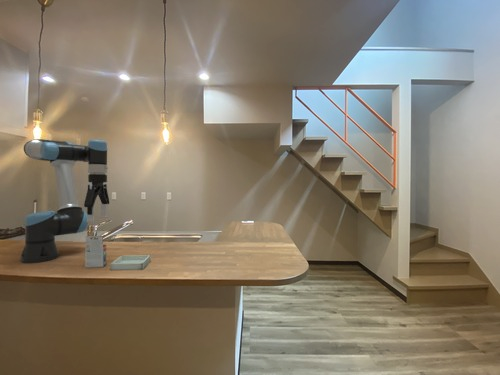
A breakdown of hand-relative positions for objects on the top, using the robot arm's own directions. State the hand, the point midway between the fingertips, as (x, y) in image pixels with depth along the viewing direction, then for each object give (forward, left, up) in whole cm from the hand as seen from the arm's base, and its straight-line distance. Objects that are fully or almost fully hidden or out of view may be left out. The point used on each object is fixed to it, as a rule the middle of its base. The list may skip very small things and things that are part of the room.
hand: (97, 219), depth 123 cm
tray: (+15, 0, -22) cm, 26 cm away
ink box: (0, -1, -22) cm, 22 cm away
